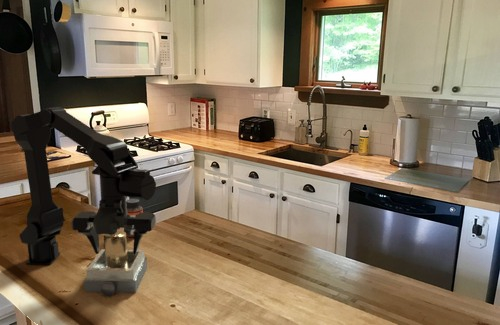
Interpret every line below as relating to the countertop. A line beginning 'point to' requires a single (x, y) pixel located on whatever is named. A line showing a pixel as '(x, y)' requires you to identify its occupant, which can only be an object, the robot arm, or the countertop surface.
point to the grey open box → (115, 274)
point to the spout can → (116, 250)
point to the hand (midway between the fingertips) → (116, 253)
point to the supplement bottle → (132, 214)
